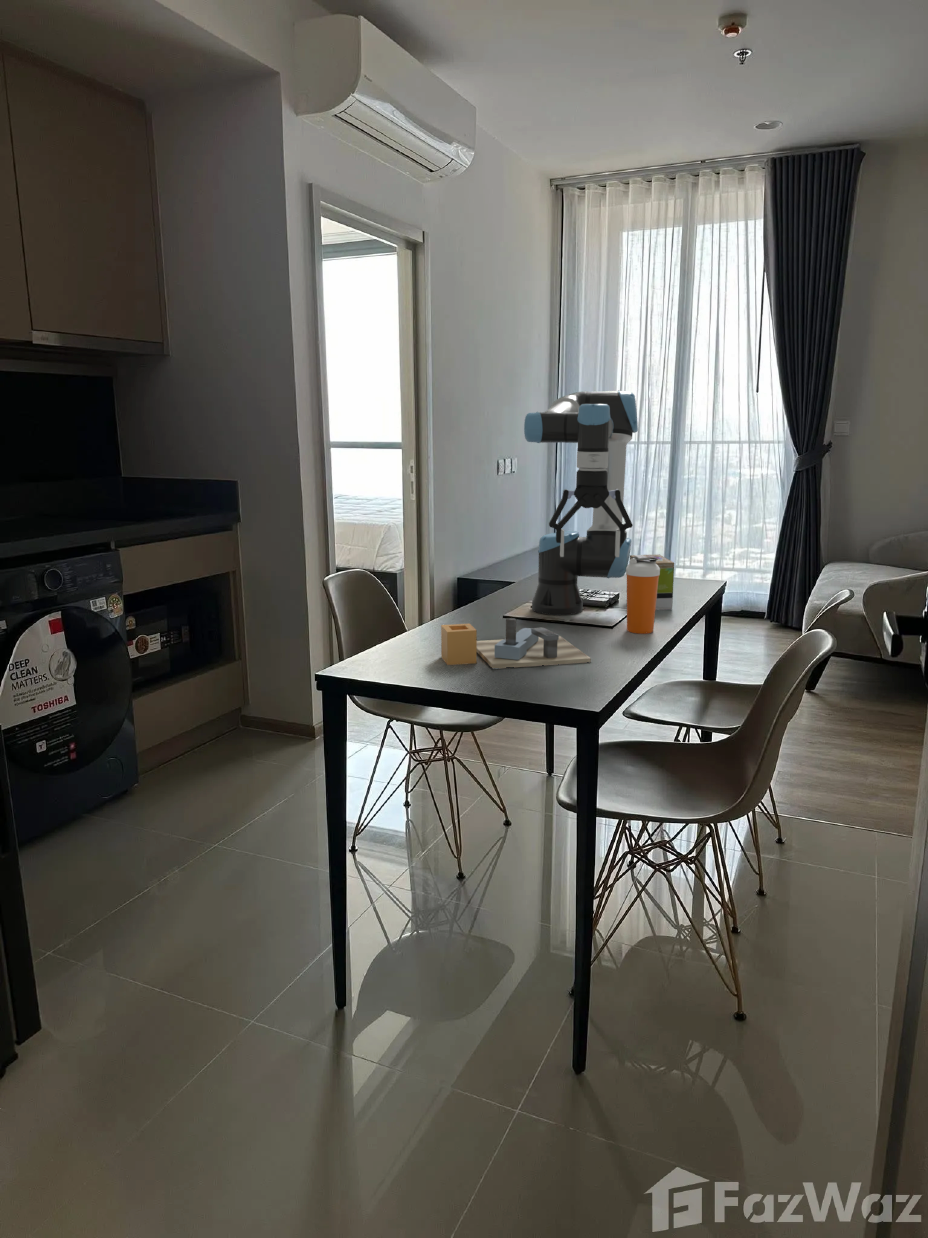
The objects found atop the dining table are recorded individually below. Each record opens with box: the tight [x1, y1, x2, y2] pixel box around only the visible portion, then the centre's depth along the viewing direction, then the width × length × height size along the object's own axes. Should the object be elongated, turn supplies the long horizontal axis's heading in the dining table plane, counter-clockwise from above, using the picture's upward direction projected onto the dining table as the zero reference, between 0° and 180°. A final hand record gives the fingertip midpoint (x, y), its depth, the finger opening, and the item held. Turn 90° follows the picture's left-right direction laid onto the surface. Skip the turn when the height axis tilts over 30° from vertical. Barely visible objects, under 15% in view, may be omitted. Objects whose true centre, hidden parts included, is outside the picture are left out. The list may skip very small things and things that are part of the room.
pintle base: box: [477, 617, 592, 669], centre depth 214 cm, size 22×24×10 cm
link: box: [495, 627, 539, 660], centre depth 214 cm, size 19×6×3 cm, turn 158°
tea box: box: [629, 554, 675, 611], centre depth 267 cm, size 15×10×15 cm, turn 5°
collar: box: [440, 623, 478, 666], centre depth 208 cm, size 7×7×8 cm
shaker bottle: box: [625, 556, 660, 635], centre depth 235 cm, size 9×9×20 cm
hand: (589, 556), depth 217 cm, fingers open, 13 cm apart
